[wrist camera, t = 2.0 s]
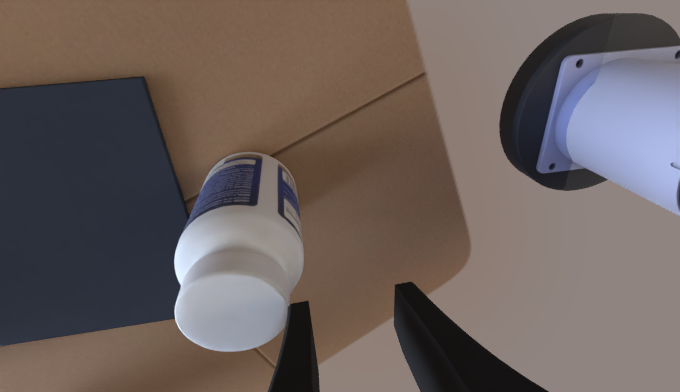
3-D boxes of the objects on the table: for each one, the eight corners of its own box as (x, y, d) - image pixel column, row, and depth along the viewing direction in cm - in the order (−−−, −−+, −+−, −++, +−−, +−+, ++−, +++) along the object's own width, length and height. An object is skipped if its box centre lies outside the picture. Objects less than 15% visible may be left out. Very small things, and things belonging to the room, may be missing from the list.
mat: (144, 76, 17) (141, 77, 16) (219, 307, 24) (218, 312, 24) (-343, 117, 15) (-359, 119, 14) (-93, 356, 22) (-98, 362, 22)
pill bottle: (193, 212, 21) (133, 351, 12) (222, 134, 19) (175, 235, 10) (277, 238, 22) (275, 375, 14) (311, 170, 20) (334, 280, 12)
